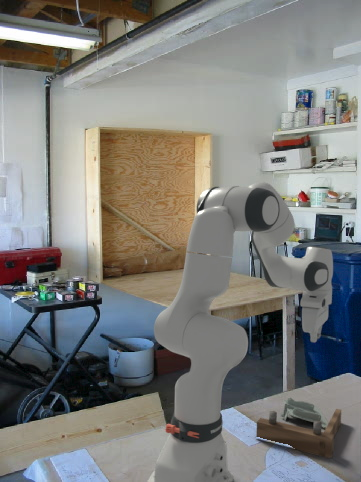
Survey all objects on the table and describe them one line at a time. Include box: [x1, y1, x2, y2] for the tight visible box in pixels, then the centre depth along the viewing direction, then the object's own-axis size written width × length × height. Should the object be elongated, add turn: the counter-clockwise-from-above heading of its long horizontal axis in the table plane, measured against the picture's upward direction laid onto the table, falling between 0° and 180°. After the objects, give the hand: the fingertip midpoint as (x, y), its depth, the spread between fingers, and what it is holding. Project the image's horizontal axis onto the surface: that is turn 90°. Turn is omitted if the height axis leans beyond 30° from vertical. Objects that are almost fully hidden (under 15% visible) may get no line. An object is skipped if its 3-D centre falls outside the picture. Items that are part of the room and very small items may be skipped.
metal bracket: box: [280, 397, 329, 430], centre depth 151 cm, size 14×6×15 cm
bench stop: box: [255, 408, 342, 459], centre depth 142 cm, size 22×20×8 cm
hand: (315, 339), depth 159 cm, fingers open, 3 cm apart
